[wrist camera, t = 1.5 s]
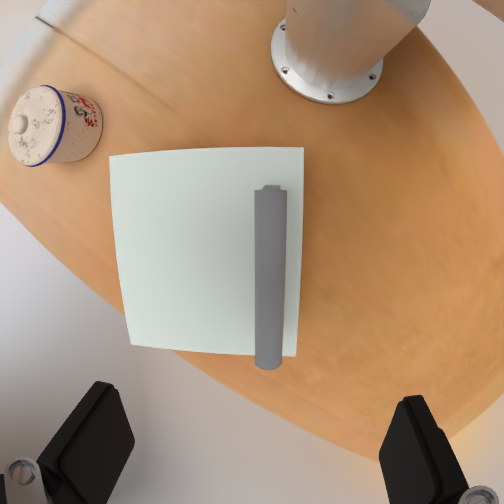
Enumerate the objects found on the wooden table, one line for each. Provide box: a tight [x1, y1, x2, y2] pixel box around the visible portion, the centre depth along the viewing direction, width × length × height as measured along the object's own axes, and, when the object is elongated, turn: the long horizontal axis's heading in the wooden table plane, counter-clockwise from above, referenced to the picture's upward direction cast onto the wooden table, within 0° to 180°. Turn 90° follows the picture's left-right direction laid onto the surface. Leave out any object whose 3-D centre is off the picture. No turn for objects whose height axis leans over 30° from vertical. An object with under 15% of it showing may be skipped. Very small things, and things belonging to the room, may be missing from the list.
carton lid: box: [109, 147, 304, 370], centre depth 24 cm, size 18×16×7 cm
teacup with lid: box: [8, 85, 102, 167], centre depth 28 cm, size 12×9×12 cm
